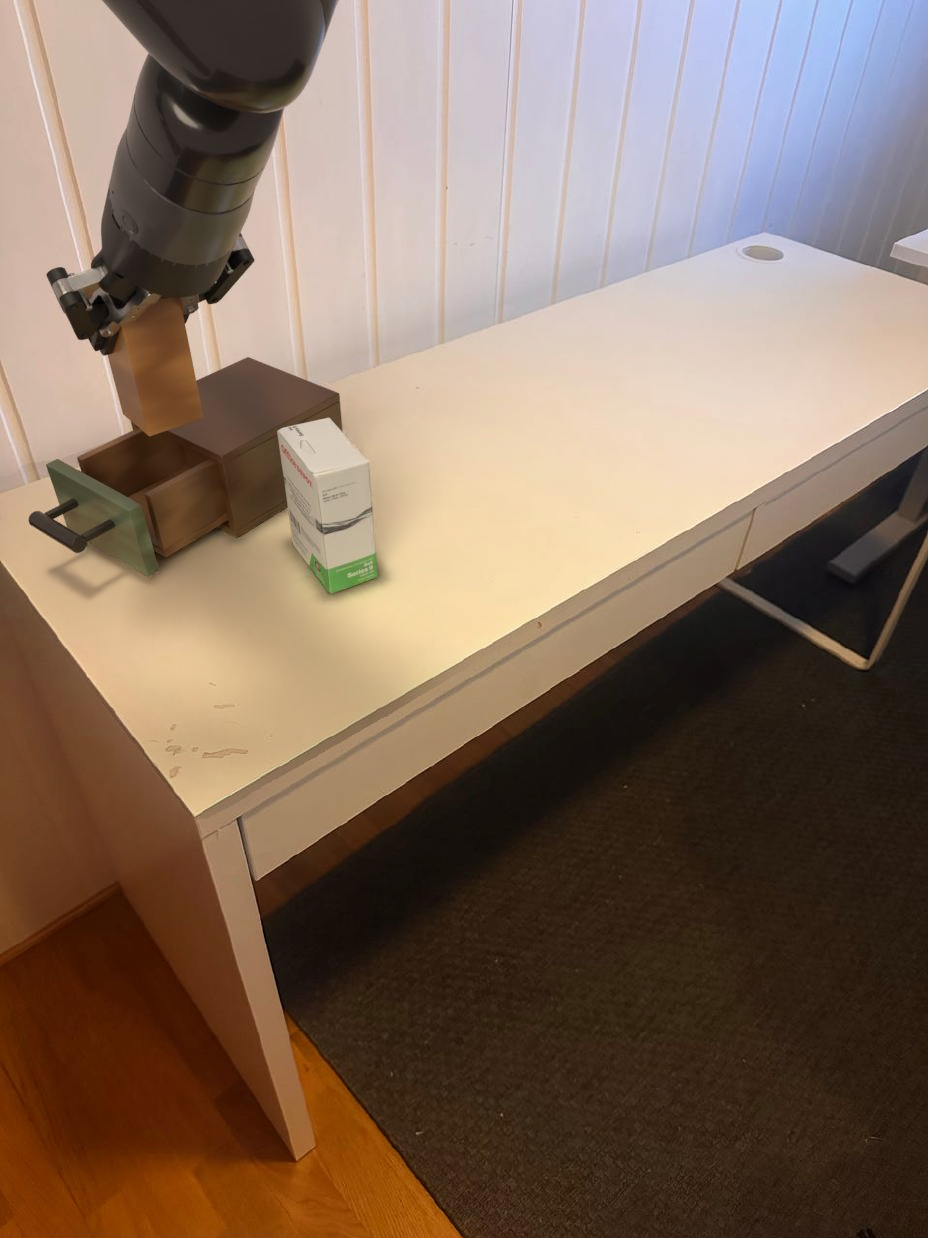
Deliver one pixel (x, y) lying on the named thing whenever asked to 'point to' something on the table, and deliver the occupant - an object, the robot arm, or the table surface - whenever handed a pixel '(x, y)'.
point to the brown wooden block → (156, 370)
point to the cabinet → (252, 434)
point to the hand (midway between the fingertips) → (134, 333)
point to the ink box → (329, 503)
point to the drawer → (135, 499)
